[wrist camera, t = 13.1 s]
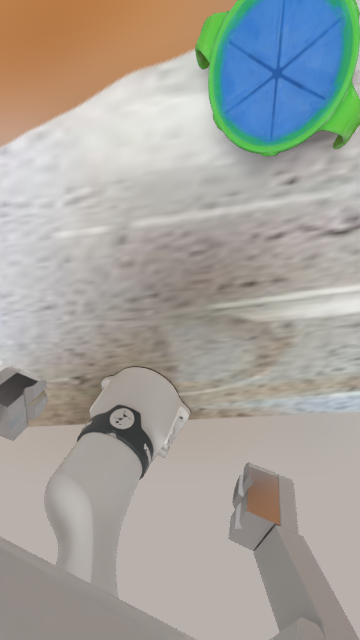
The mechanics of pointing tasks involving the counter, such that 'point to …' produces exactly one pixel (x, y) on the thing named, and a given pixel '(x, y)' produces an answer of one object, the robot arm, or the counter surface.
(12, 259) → the counter surface
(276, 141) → the snack cup
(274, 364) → the counter surface
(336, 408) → the counter surface
